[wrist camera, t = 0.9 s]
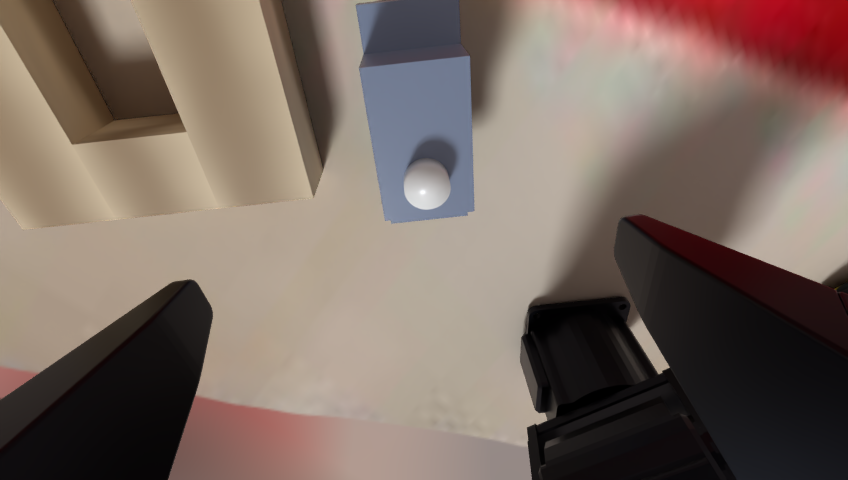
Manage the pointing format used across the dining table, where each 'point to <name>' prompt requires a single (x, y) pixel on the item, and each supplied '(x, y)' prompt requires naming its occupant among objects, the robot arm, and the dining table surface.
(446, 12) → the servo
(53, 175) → the frame
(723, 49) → the dining table surface
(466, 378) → the dining table surface
